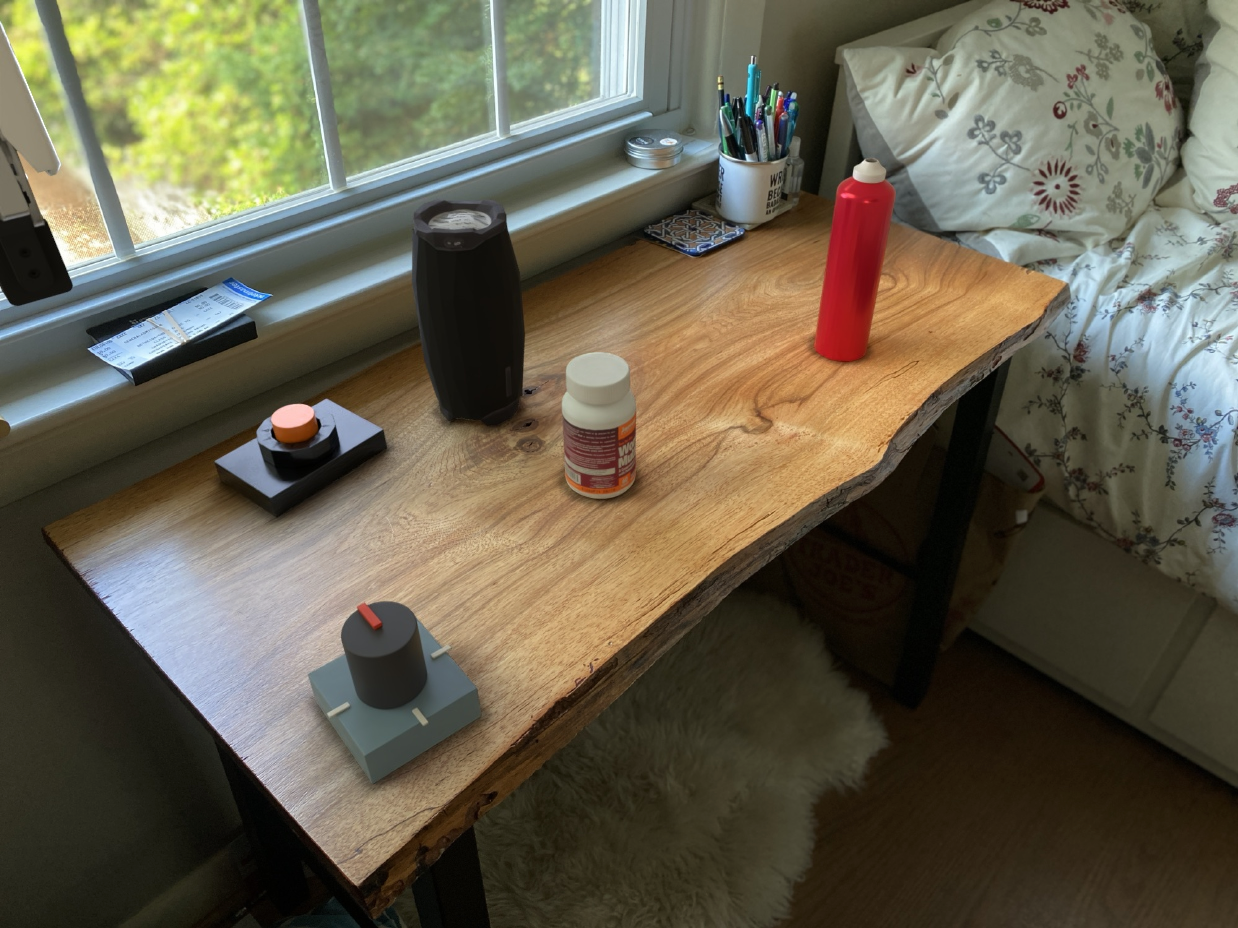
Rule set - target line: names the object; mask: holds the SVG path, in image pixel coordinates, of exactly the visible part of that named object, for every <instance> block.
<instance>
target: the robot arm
mask: <svg viewBox="0 0 1238 928" xmlns="http://www.w3.org/2000/svg"><path fill="white" fill-rule="evenodd" d="M18 153H19V154H20V155H21V157H23V158H24V160H25V161H26V162H27V163H28V164H29V165H30V166H31V167H32V169H33V170H35V171H36V172H37V173H38V174H39V173H43V172H45V173H46V174H47V175H48V176H50V177H53V176H56V175H57V174H58V172H59V171H60V168H61V166H62V164H61V160H60V157H59V155H58V153H57V151H56V148H55V146H54V144H53V142H52V139H51V137H50V135H49V133H48V130H47V128H46V126H45V123H44V120H43V118H42V115H41V114H40V110H39V109H38V107H37V104H36V102H35V99H34V97H33V95H32V92H31V90H30V87H29V85H28V83H27V80H26V77H25V75H24V73H23V70H22V68H21V66H20V63H19V61H18V58H17V56H16V54H15V51H14V49H13V46H12V44H11V42H10V39H9V37H8V35H7V32H6V30H5V28H4V25H3V23H2V21H1V20H0V290H1V291H2V294H3V295H4V296H5V298H6V299H7V301H8V303H9V304H10V305H11V306H14V307H20V306H24V305H27V304H31V303H35V302H38V301H42V300H45V299H49V298H52V297H55V296H59V295H63V294H66V293H69V292H71V291H73V290H72V289H73V287H74V284H73V281H72V279H71V276H70V274H69V271H68V268H67V265H66V264H65V262H64V259H63V256H62V254H61V252H60V250H59V247H58V244H57V241H56V239H55V237H54V234H53V232H52V229H51V226H50V225H49V222H48V220H47V219H46V218H45V217H43V214H42V212H41V210H40V207H39V205H38V203H37V200H36V197H35V195H34V192H33V190H32V189H33V188H32V186H31V184H30V182H29V178H28V175H27V174H26V172H25V171H26V170H25V169H24V165H23V163H22V160H21V158H20V156H19V154H18Z"/></svg>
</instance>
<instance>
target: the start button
mask: <svg viewBox="0 0 1238 928" xmlns="http://www.w3.org/2000/svg"><path fill="white" fill-rule="evenodd" d="M311 407H312V406H310V405H308V404H303V403H292V404H288V405H284V406H282V407H280V408H278V409H277V410H275V411H274V412H273V414H271V416H272V417H271V416H270V417H271V423H272V426H273V430H274V433H275V437H276V439H277V440H278V441H279V442H284V443H297V442H301V441H306V440H308V439H309V438H311V437H313V436H314V435H316V434H317V432H318V424H317V420H316V416H315V412H314V410H313V409H312V408H311Z"/></svg>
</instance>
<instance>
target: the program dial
mask: <svg viewBox="0 0 1238 928" xmlns="http://www.w3.org/2000/svg"><path fill="white" fill-rule="evenodd" d="M356 609H357V610H355V611H354V612H352V613H351V614H350V615H349V616H348V617H347V618H346V619H345V622H344V623H343V625H342V628H341V631H340V640H341V645H342V648H343V652H344V654H345V655H346V659H347V662H348V666H349V670H350V673H351V677H352V680H353V684H354V687H355V691H356V694H357V696H358V697H359V699H360V700H361V701H362V702H364V703H365V704H366V705H368V706H371V707H373V708H378V709H392V708H396V707H400V706H402V705H405V704H407V703H409V702H410V701H412V700H413V699H414V698H416V697H417V696H418V695H419V694H420V692H421V691H422V690H423V688H424V686H425V684H426V681H427V669H426V664H425V659H424V654H423V649H422V644H421V639H420V634H419V629H418V624H417V620H416V618H417V616H416V615H415V613H414V612H413V610H412V609H411V608H410V607H408V606H406V605H405V604H403V603H400V602H396V601H390V600H384V601H376V602H372V603H369V604H367V602H362V603H360V604H359V605H357V606H356ZM415 616H416V617H415Z"/></svg>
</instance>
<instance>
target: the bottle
mask: <svg viewBox="0 0 1238 928" xmlns="http://www.w3.org/2000/svg"><path fill="white" fill-rule="evenodd" d="M886 175H887V168H885V167H884V166H882V164H881V162H880V161H879V160H878V159H877V158H874V157H867V158H864V159H863V160H862V161H861V162H860V163H859V164H856V165H855V166H853V171H852V175H851V176H849V177H848V178H845V179H844V180H842V181H841V182H840V183H839V184H838V186H837V188H836V193H835V200H834V207H833V213H832V221H831V227H830V234H829V241H828V248H827V253H826V260H825V267H824V275H823V280H822V289H821V295H820V300H819V301H820V302H819V310H818V314H817V321H816V329H815V336H814V343H813V347H814V350H815V352H817V353H818V354H819V355H820V356H821V357H824V358H826V359H828V360H832V361H836V362H837V361H838V362H853V361H857V360H860V359H861V358H863V357H864V356H865V355H866V353H867V351H868V345H869V340H870V335H871V330H872V324H873V320H874V315H875V309H876V303H877V298H878V293H879V286H880V283H881V277H882V271H883V267H884V262H885V261H884V260H885V255H886V251H887V245H888V239H889V234H890V230H891V229H890V228H891V223H892V218H893V213H894V207H895V202H896V197H897V192H896V188H895V187H894V186H893V184H891V183H890V182H889V181H888V180H887V179H886Z"/></svg>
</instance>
